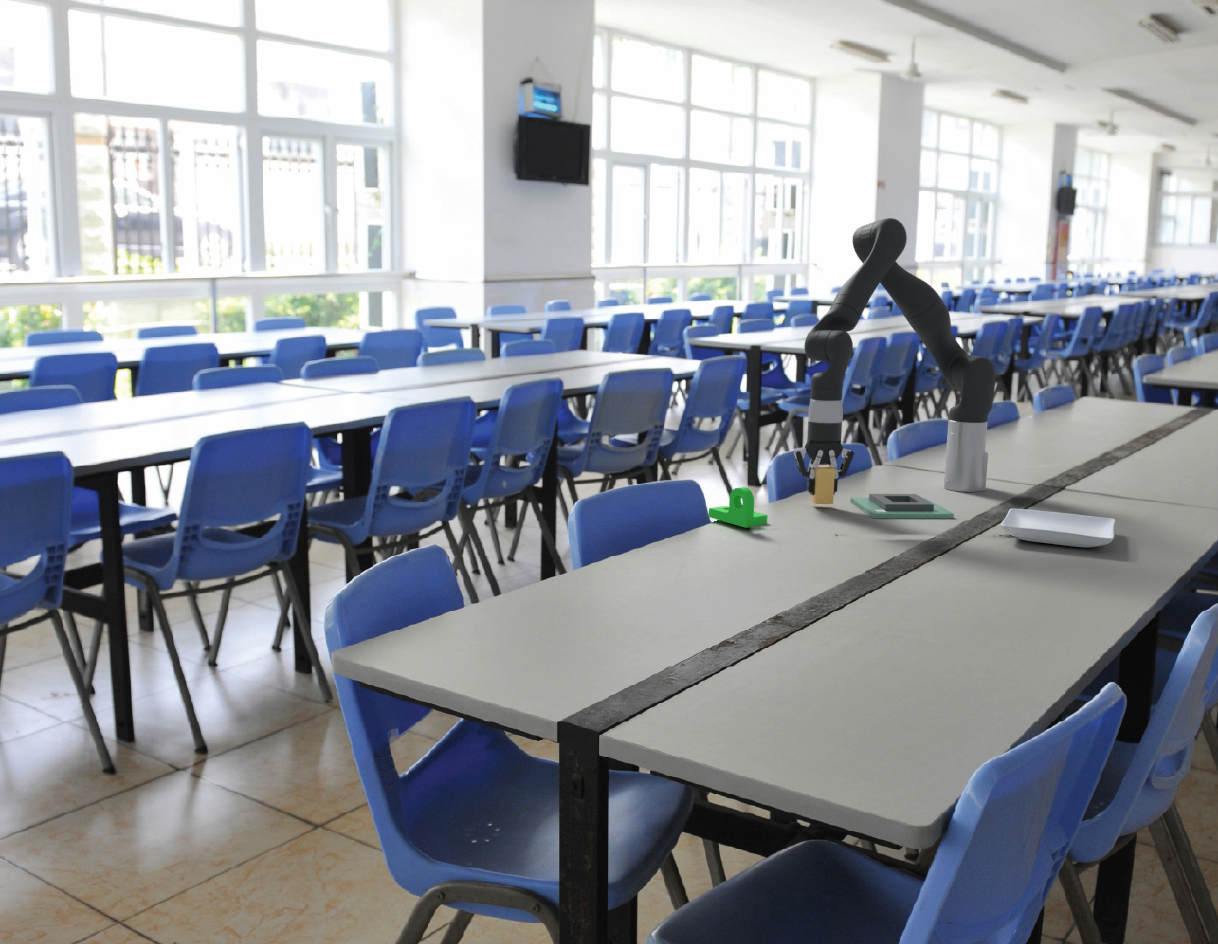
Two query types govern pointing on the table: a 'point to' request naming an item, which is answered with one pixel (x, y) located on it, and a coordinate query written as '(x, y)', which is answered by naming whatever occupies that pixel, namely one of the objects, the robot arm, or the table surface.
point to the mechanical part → (739, 510)
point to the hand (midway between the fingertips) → (821, 494)
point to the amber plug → (823, 485)
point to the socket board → (903, 514)
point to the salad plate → (1059, 528)
